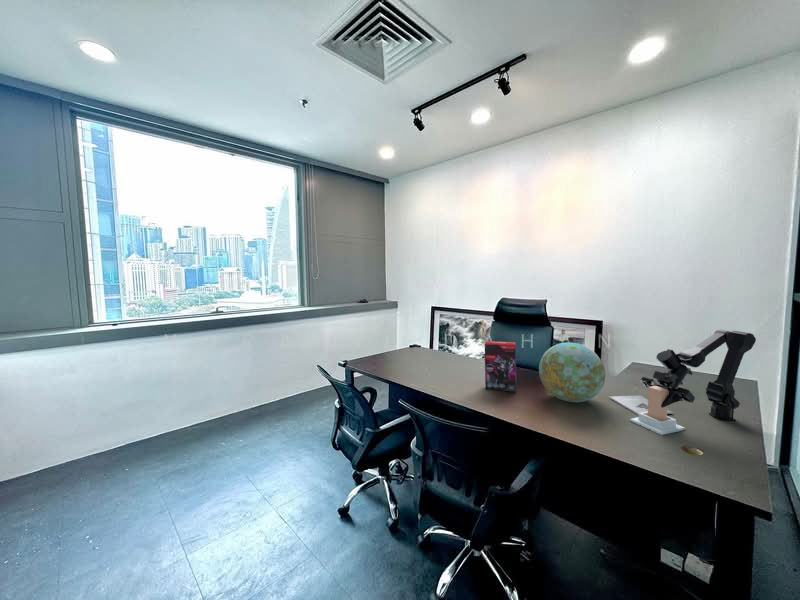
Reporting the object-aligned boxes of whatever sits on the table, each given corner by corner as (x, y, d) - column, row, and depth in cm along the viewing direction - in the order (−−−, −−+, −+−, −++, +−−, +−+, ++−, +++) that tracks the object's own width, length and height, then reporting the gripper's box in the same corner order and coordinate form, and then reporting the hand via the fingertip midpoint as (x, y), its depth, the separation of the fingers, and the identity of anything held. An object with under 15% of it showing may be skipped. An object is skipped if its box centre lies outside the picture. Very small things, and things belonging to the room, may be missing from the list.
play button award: (640, 395, 166) (673, 412, 147) (639, 398, 167) (673, 415, 147) (609, 396, 166) (638, 413, 146) (609, 399, 166) (638, 416, 146)
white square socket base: (652, 416, 145) (652, 407, 145) (684, 429, 133) (685, 420, 133) (630, 420, 142) (630, 412, 141) (661, 435, 129) (662, 425, 129)
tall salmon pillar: (654, 416, 140) (655, 385, 139) (666, 421, 135) (668, 389, 134) (647, 418, 139) (648, 386, 138) (659, 423, 134) (661, 390, 133)
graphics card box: (484, 390, 183) (484, 343, 181) (485, 385, 190) (485, 340, 187) (516, 392, 178) (516, 344, 175) (516, 388, 184) (516, 341, 182)
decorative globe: (556, 385, 187) (557, 334, 184) (614, 401, 163) (616, 343, 160) (527, 398, 169) (527, 343, 166) (587, 418, 145) (589, 354, 142)
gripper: (643, 358, 145) (624, 385, 143) (691, 370, 127) (669, 401, 125) (656, 373, 148) (637, 400, 146) (704, 387, 130) (683, 417, 128)
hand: (655, 404), depth 136 cm, fingers closed on tall salmon pillar, 5 cm apart
